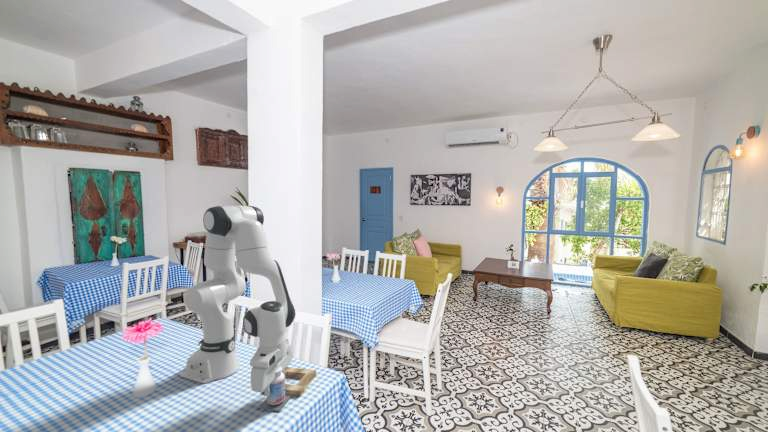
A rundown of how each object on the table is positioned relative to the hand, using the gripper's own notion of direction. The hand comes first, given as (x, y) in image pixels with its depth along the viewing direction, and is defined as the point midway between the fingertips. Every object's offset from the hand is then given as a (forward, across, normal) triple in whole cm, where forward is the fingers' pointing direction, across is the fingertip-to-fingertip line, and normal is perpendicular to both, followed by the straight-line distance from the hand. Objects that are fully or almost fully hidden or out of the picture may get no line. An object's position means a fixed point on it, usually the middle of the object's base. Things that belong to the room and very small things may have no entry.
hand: (274, 388), depth 108 cm
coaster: (+5, 0, 0) cm, 5 cm away
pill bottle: (+4, 0, +1) cm, 4 cm away
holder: (+5, -12, 0) cm, 13 cm away
